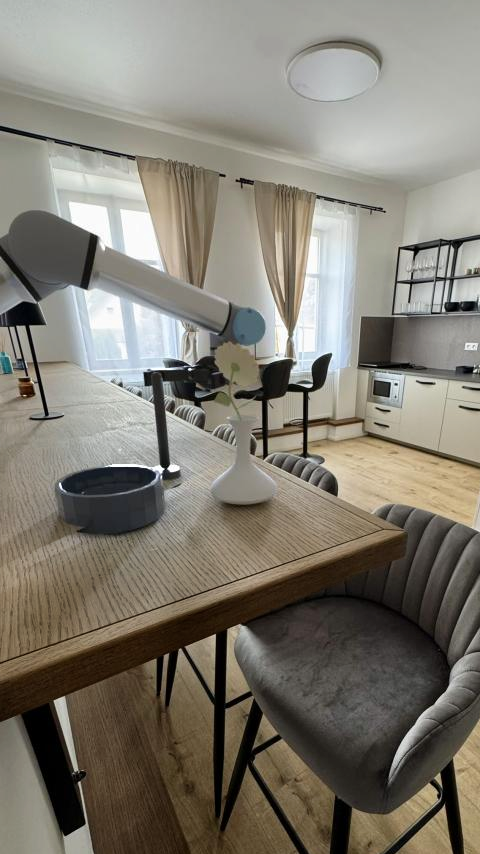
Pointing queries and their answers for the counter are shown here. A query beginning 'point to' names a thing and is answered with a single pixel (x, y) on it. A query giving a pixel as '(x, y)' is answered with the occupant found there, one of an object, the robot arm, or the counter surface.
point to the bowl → (111, 498)
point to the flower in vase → (240, 433)
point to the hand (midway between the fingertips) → (178, 380)
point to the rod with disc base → (162, 431)
